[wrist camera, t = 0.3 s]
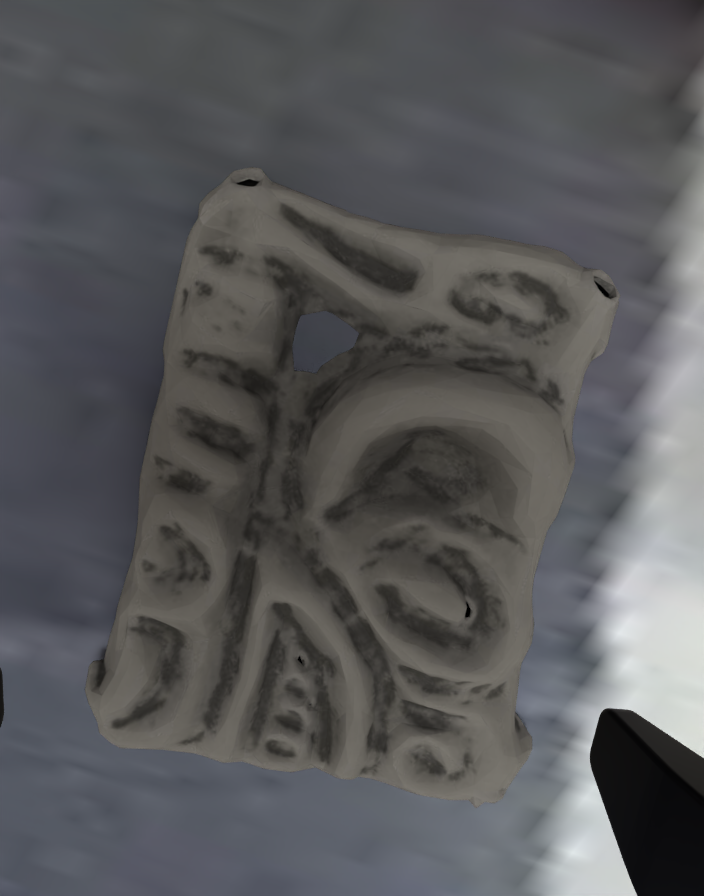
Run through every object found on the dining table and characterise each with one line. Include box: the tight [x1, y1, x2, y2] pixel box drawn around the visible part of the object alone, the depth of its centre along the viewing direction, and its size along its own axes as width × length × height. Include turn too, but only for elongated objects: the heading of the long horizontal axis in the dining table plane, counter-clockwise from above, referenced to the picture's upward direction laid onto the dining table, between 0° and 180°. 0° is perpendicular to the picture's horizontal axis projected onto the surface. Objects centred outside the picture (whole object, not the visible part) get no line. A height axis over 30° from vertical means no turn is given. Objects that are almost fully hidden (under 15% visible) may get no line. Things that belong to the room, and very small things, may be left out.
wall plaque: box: [85, 167, 620, 808], centre depth 21 cm, size 24×19×4 cm
